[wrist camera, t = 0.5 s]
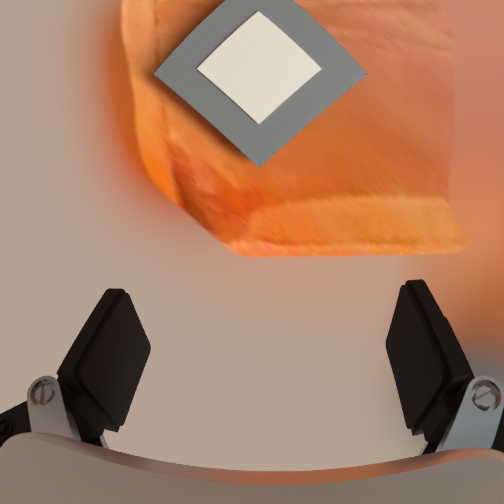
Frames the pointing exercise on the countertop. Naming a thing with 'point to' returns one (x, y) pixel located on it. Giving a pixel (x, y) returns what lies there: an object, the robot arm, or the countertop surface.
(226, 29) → the plate
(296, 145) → the countertop surface
